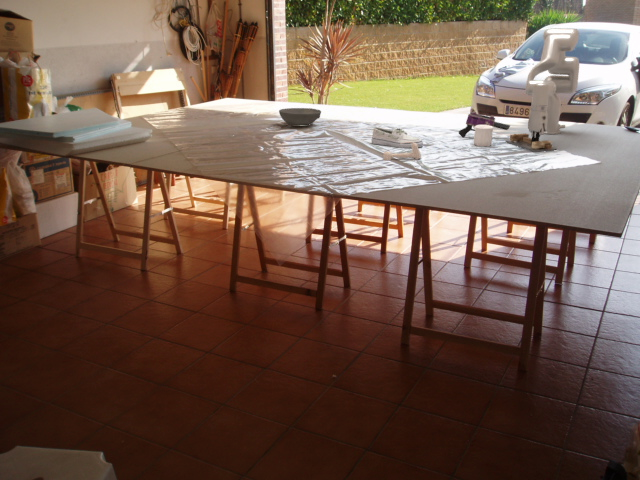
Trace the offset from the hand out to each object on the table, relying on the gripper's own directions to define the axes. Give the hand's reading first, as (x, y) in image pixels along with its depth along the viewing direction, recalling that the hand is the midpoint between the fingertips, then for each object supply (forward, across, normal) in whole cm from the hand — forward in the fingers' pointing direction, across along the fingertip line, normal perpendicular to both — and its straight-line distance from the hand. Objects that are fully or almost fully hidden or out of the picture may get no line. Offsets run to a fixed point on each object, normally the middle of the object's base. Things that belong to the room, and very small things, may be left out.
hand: (534, 144), depth 299 cm
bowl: (+2, +107, +96) cm, 144 cm away
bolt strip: (+2, +6, -2) cm, 7 cm away
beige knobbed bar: (+3, +3, +71) cm, 71 cm away
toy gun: (+2, +34, +9) cm, 36 cm away
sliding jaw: (+1, -3, -2) cm, 4 cm away
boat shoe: (+3, +33, +62) cm, 70 cm away
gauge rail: (+2, +6, -2) cm, 7 cm away
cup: (+2, +18, +19) cm, 26 cm away
